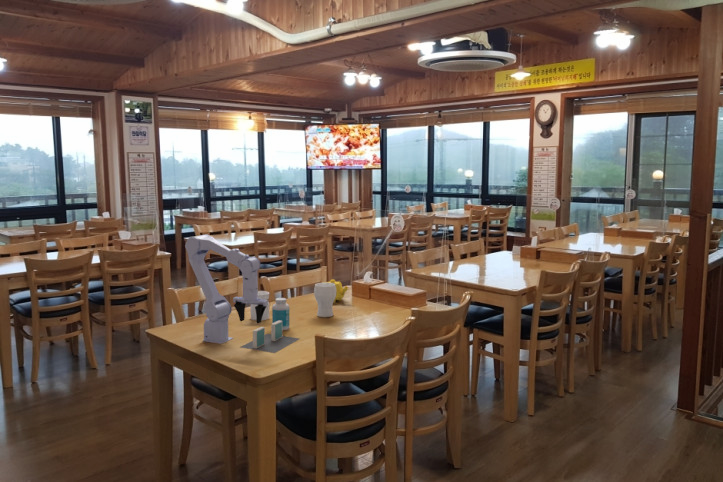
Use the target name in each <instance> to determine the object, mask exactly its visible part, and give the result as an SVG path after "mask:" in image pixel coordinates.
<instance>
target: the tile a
mask: <svg viewBox="0 0 723 482" xmlns="http://www.w3.org/2000/svg"><path fill="white" fill-rule="evenodd" d="M265 331H266V328H265V326H260V327H258V328H255V329H252V341H253V348H258V347H260V346H262V345H264V344H265V334H266V333H265Z"/></svg>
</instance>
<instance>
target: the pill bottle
mask: <svg viewBox="0 0 723 482" xmlns="http://www.w3.org/2000/svg"><path fill="white" fill-rule="evenodd" d="M271 309H272V311H271V312H272V313H271V316H272V319H271V320H272V323H274V322H276V321H279V320H280V321H282V331H287V330H289V329H290V304H289V303H287V298H285V297H277V298H275V303H274V304H272V308H271ZM272 323H271V324H272Z"/></svg>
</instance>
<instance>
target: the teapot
mask: <svg viewBox="0 0 723 482" xmlns="http://www.w3.org/2000/svg"><path fill="white" fill-rule="evenodd" d="M327 283H334V284H335V286H336V297H335V299H334V301H333V304H335V303H337V302H336V301H339V302H340V301H343V300H342V299H343V298H344V297H345V295H346V292H347V291H348V290H349V287H348V285H345V286H344V287H343V283H342V282H341V281H336V279H330V281H327Z"/></svg>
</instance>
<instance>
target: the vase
mask: <svg viewBox="0 0 723 482" xmlns="http://www.w3.org/2000/svg"><path fill="white" fill-rule="evenodd" d="M258 298H259V299H263V300H268V305H267V307H266V309H265V311H264V313H263V316H262V319H261V321H266V320H269V319H270V302H269V299H270V292H269V291H266V290H258ZM256 306H258V305H255V304H250V306H249V307H250V319H251V321H252V320H253V321H257V316H256V310H255V307H256Z"/></svg>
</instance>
